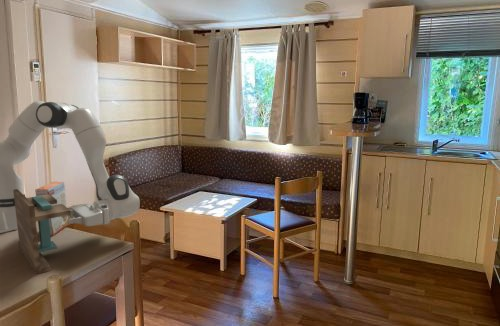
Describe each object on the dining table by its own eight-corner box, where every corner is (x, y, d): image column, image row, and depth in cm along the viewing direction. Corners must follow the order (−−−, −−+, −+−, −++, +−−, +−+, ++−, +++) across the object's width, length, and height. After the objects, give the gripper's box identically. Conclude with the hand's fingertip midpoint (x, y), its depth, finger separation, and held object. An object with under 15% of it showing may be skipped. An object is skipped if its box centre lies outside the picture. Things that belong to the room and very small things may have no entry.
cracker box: (56, 225, 180) (52, 181, 176) (69, 225, 179) (65, 181, 176) (39, 236, 166) (34, 188, 162) (53, 236, 166) (48, 189, 162)
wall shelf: (54, 241, 160) (48, 184, 156) (75, 263, 139) (69, 199, 135) (20, 248, 153) (13, 189, 148) (36, 274, 131) (29, 206, 127)
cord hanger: (49, 240, 154) (44, 195, 150) (60, 252, 141) (56, 204, 138) (32, 243, 150) (27, 197, 146) (42, 257, 138) (37, 207, 134)
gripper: (91, 198, 164) (56, 204, 155) (109, 209, 149) (71, 216, 140) (92, 212, 165) (57, 219, 157) (110, 225, 150) (72, 233, 141)
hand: (64, 218), depth 148 cm, fingers open, 8 cm apart
